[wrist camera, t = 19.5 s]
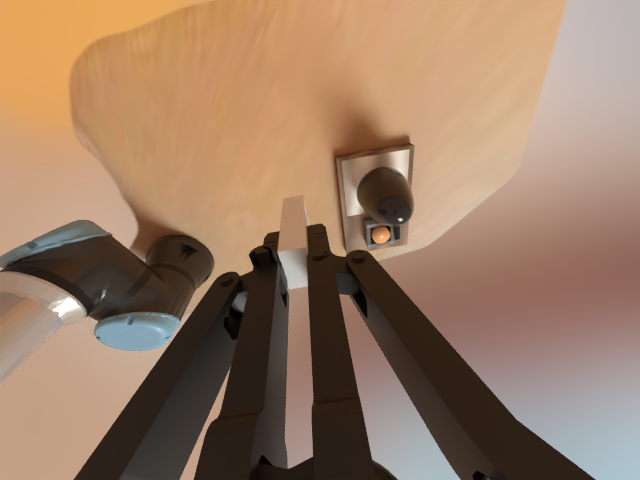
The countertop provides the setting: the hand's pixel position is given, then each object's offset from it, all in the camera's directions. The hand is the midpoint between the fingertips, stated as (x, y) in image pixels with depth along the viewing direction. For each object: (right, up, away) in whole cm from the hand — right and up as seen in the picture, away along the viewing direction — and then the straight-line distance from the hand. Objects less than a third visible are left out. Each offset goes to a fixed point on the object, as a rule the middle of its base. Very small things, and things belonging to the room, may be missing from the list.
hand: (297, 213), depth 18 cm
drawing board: (+15, +7, +39) cm, 42 cm away
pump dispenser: (+14, +10, +34) cm, 38 cm away
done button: (+16, 0, +39) cm, 42 cm away
